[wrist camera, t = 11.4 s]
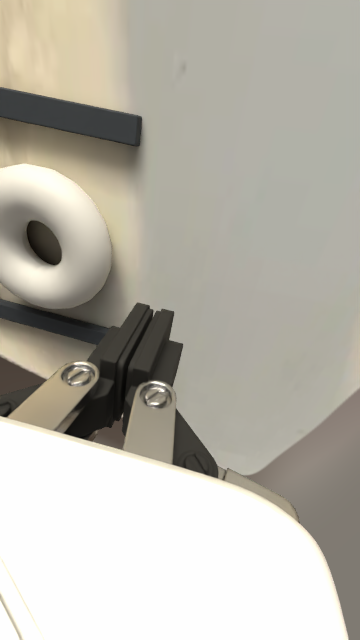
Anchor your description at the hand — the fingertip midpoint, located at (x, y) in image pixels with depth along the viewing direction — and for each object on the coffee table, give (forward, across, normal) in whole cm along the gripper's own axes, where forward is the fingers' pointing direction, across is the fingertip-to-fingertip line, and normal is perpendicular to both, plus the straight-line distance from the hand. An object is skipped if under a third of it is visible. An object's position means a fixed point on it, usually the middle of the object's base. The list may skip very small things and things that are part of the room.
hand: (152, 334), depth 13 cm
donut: (+10, +10, 0) cm, 14 cm away
